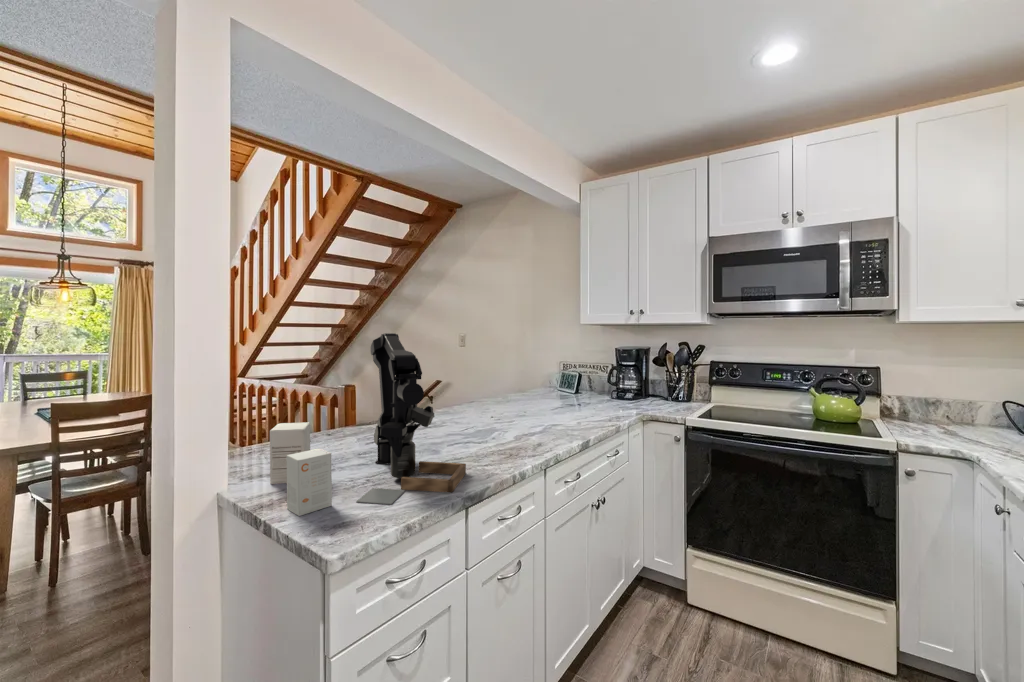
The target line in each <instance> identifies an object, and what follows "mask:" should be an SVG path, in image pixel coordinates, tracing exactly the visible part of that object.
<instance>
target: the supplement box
mask: <svg viewBox="0 0 1024 682" xmlns="http://www.w3.org/2000/svg"><path fill="white" fill-rule="evenodd" d="M309 450H311V422H309V421H308V422H306V421H305V422H281V423H277V424H276V425H275V426H274V427H273V428H271V429H270V430H269V471H270V472H269V478H270V479H269V483H270V485H276V484H277V485H280V484H287V455H290V454H295V453H300V452H304V451H309Z"/></svg>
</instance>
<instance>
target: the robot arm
mask: <svg viewBox="0 0 1024 682" xmlns="http://www.w3.org/2000/svg"><path fill="white" fill-rule="evenodd" d="M371 342H372V343H371V344H370V355H371V356H372V362H373V363H374V364H375V365H376V366H377V368H378V372H379V373H378V374H379V375H378V376H379V391H380V405H381V406H380V407H381V413H380V414H379V417H378V419H377V425H375V429H374V432H373V433H374V434H373V442H374V443H375V445H376V446H377V459H376V461H375V462H374V463H375V464H381V465H382V464H383V465H391V447H392V449H393V451H394V453H395V455H396V457H399V458H400V457H401V452H402V445H403V439H404V438H405V437H406V436H407V435H408V433H406V432H407V431H410V432H412V439H411V441H413V438H414V436H415V435H414V434H415V432H416V430H417V429H418V428H419V427H420V426H422V427H423V428H427V427H429V426H430V425H431V424H432V421H433V420H434V418H435V412H434V408H433V406H431V405H427V406H425V408H423V407H419V406H418V404H419V403H421V402H422V401H423V399H424V396H425V393H424V389H423V387H422V386H421V385H420V384H419V383H417V381H418V380H422V376H423V371H422V367H421V364H420V362H419V359H418V358H417V357H416V354H415V353H413V352H411V351H409V350H406V349H405V347H404V346H403V344H402V342H401V340H400V337H399V334H398V333H396V332H395V333H393V332H392V333H390V332H388V333H387V332H386V333H383V334H382V333H381V335H380V336H379V337H377V338H375V339H373V340H372V341H371Z"/></svg>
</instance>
